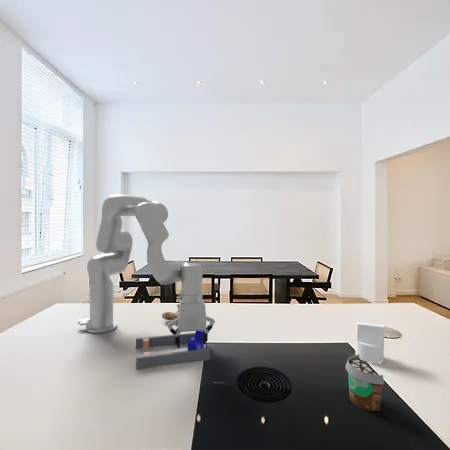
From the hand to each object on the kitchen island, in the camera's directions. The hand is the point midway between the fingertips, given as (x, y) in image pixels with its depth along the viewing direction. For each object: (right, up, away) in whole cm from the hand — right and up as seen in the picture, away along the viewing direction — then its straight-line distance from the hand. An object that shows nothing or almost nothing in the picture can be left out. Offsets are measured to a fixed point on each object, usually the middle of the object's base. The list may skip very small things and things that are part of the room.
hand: (191, 344), depth 109 cm
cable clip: (+1, -3, 0) cm, 3 cm away
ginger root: (-7, -2, +33) cm, 33 cm away
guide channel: (-7, -2, -2) cm, 8 cm away
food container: (+48, -4, -28) cm, 56 cm away
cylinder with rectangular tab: (+63, -4, -2) cm, 63 cm away
